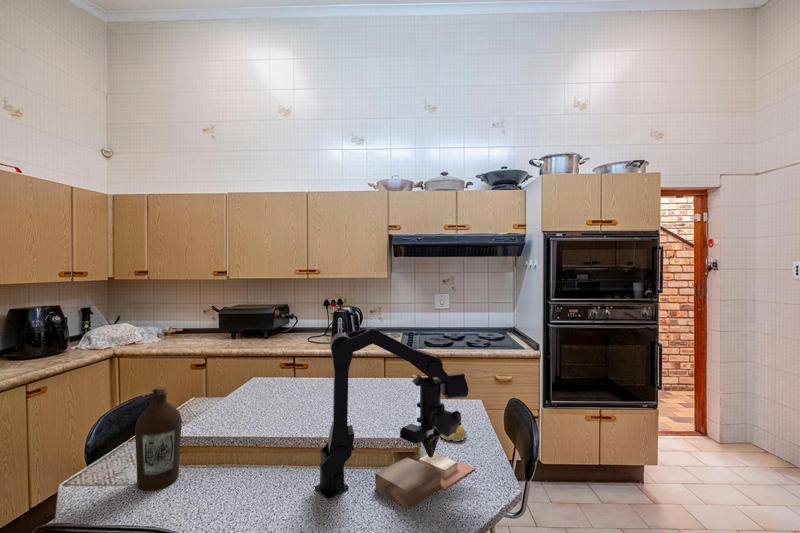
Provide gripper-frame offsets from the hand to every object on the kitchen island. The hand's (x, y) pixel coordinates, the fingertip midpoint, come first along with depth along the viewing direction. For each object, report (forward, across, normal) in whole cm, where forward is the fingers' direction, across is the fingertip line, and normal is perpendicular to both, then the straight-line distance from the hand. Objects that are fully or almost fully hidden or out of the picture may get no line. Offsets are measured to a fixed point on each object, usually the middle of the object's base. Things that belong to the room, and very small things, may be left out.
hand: (430, 456), depth 103 cm
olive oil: (+5, -54, +50) cm, 74 cm away
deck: (+5, -9, 0) cm, 10 cm away
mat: (+5, +4, 0) cm, 7 cm away
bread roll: (+6, +24, +11) cm, 27 cm away
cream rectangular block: (+3, +4, +1) cm, 5 cm away
